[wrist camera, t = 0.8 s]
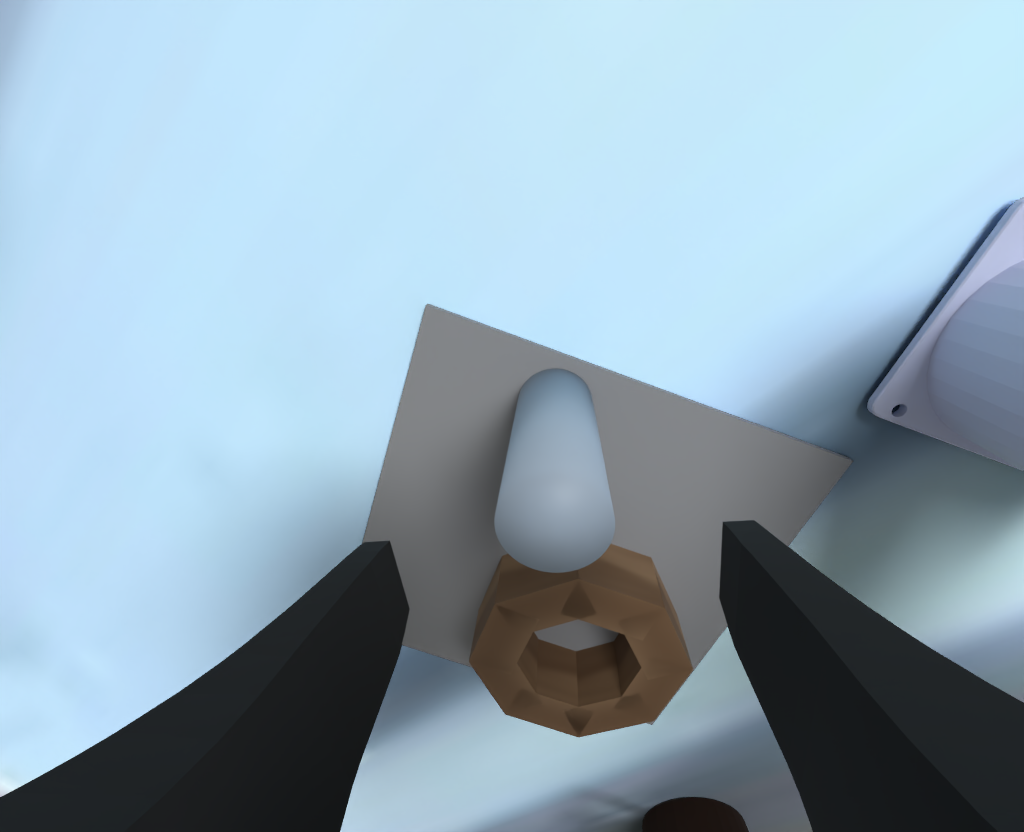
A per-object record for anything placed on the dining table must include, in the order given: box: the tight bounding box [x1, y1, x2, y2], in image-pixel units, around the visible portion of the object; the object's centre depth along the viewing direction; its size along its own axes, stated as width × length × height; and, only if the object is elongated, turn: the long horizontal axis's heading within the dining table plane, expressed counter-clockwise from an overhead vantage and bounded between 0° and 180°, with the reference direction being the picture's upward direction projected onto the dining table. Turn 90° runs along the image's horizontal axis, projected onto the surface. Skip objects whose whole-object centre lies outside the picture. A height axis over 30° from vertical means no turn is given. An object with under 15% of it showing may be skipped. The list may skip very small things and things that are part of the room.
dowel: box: [494, 368, 615, 573], centre depth 15 cm, size 3×3×8 cm
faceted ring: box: [469, 544, 693, 737], centre depth 22 cm, size 9×9×3 cm
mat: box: [362, 304, 853, 725], centre depth 22 cm, size 18×18×1 cm
